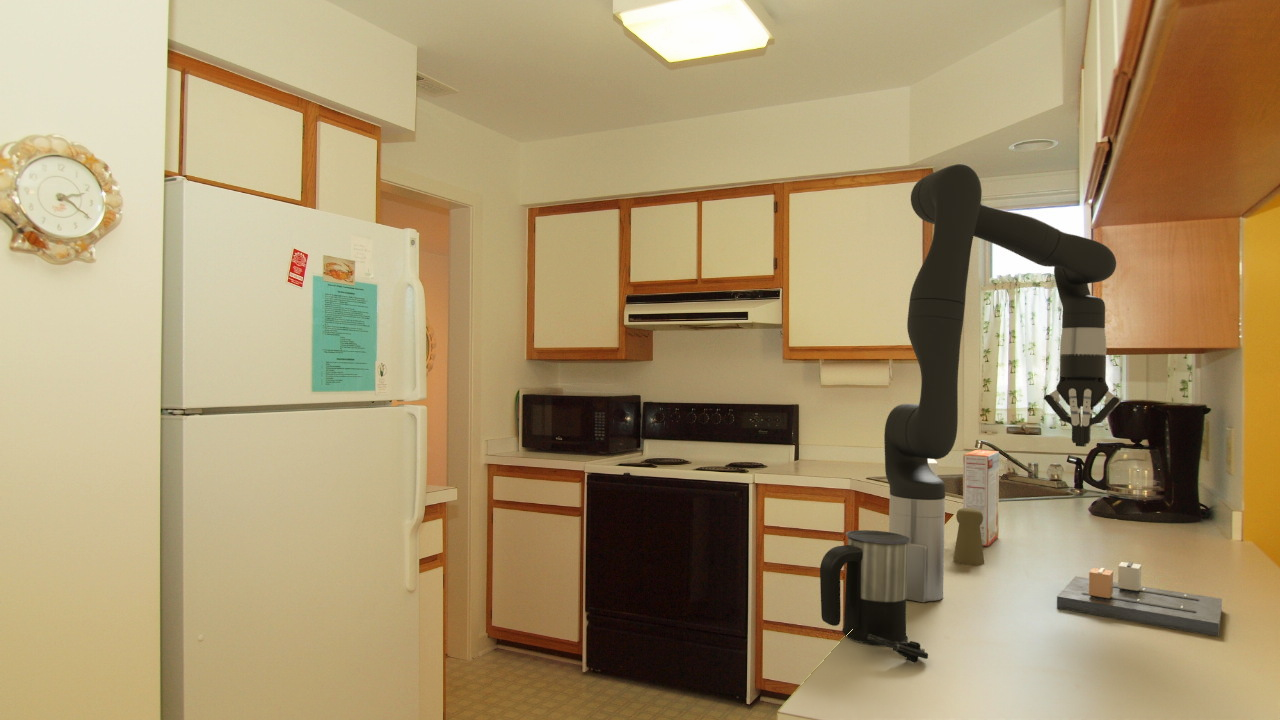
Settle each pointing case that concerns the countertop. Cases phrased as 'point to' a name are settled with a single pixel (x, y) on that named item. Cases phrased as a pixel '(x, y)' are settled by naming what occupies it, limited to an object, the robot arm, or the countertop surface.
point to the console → (1146, 606)
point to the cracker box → (983, 490)
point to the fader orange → (1101, 582)
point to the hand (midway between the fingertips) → (1081, 446)
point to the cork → (969, 537)
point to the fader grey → (1129, 576)
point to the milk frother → (870, 590)
